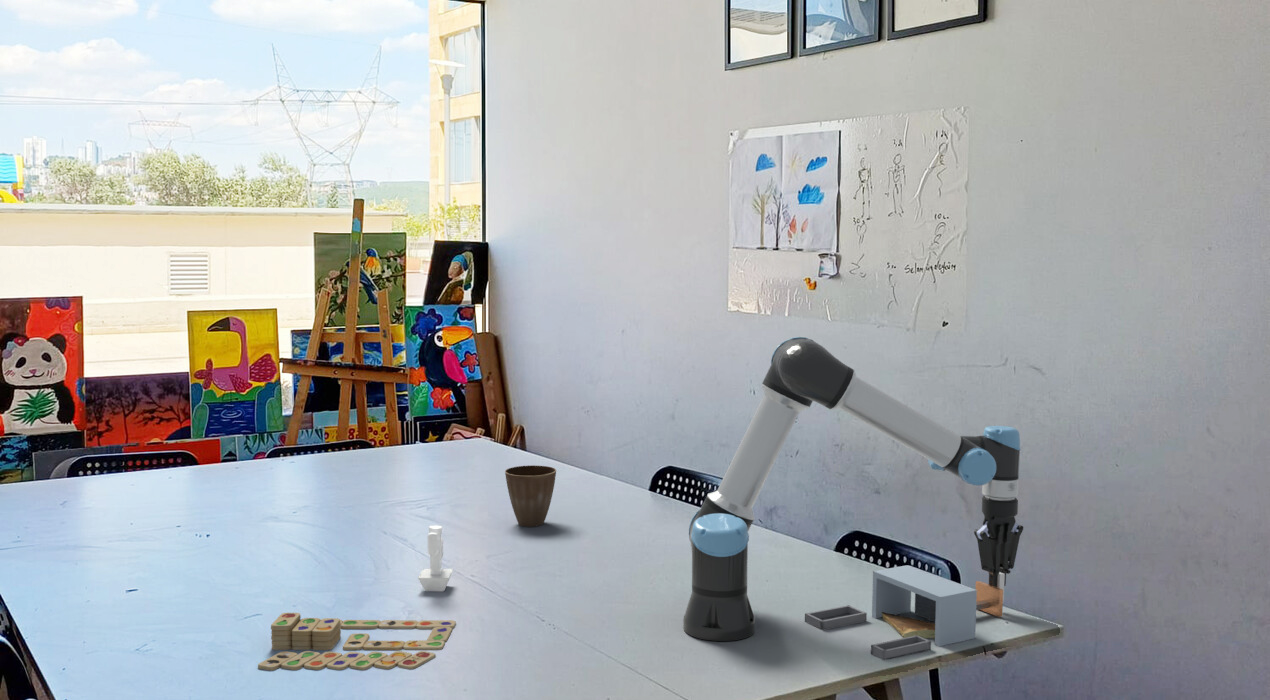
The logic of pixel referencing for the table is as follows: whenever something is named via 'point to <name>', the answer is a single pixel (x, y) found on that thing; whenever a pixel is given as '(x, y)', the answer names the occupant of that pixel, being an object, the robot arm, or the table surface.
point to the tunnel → (950, 598)
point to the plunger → (986, 601)
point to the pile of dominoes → (349, 643)
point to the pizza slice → (910, 626)
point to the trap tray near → (900, 647)
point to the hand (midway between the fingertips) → (996, 601)
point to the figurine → (435, 563)
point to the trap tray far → (835, 617)
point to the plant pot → (530, 493)
